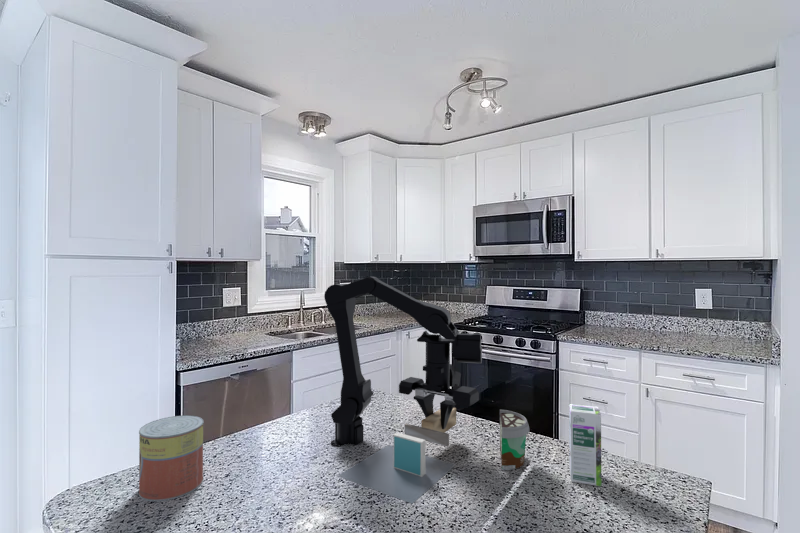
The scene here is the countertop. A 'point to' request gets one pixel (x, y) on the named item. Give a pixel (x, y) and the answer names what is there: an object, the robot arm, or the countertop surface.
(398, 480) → the slate board
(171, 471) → the canned food
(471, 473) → the countertop surface
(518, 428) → the food container
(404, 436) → the tile
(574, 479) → the syrup box
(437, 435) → the block
